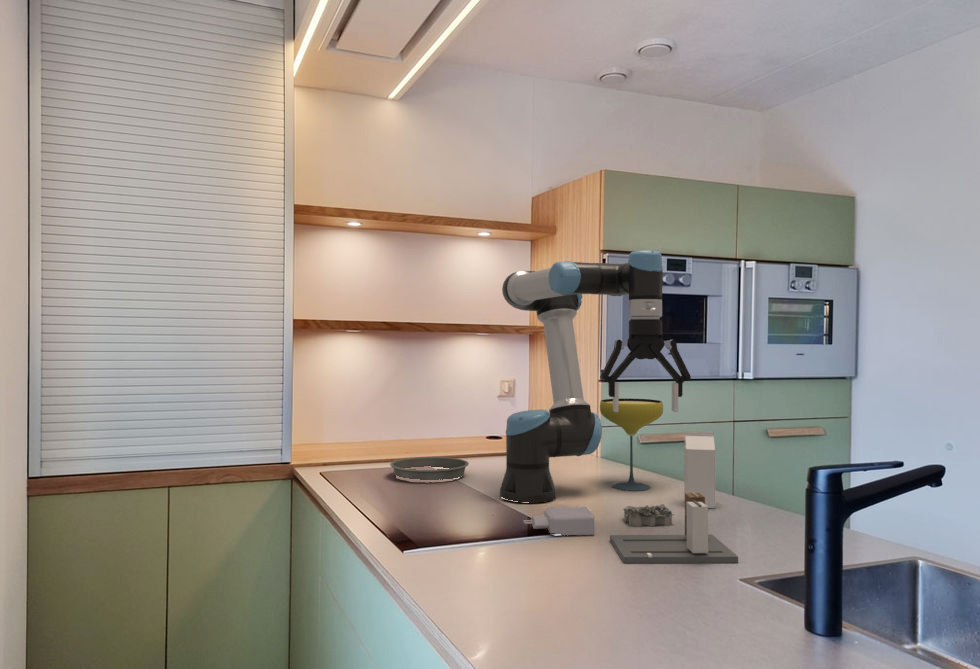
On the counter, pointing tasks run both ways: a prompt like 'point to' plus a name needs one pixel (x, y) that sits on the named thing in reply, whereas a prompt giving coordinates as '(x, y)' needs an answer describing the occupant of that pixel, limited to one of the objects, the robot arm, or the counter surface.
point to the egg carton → (648, 515)
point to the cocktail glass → (632, 426)
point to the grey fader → (697, 527)
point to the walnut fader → (689, 498)
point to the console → (668, 549)
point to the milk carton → (700, 465)
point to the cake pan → (453, 464)
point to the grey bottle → (565, 521)
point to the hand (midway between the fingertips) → (645, 411)
